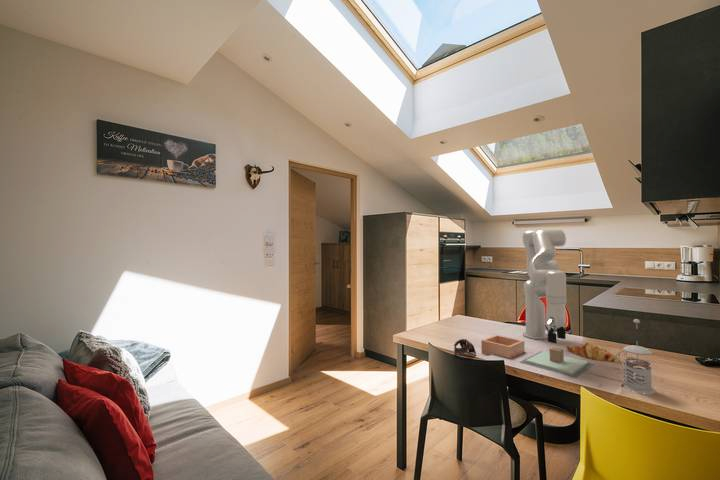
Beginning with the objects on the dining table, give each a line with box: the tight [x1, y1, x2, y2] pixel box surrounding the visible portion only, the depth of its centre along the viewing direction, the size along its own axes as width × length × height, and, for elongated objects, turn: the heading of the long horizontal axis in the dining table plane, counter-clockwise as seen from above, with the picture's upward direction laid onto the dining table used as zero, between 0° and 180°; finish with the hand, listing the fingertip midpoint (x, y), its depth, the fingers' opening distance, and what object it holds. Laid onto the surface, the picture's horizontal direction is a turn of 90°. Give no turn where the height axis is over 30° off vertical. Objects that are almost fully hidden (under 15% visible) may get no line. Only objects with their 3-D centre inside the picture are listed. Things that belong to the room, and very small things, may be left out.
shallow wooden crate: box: [481, 334, 525, 359], centre depth 163 cm, size 14×14×6 cm
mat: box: [518, 350, 596, 379], centre depth 146 cm, size 22×22×1 cm
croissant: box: [566, 342, 622, 364], centre depth 154 cm, size 21×10×8 cm, turn 38°
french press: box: [615, 318, 656, 395], centre depth 124 cm, size 10×12×25 cm
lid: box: [526, 346, 589, 375], centre depth 146 cm, size 18×18×6 cm
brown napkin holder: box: [453, 338, 477, 357], centre depth 162 cm, size 12×10×8 cm
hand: (556, 340), depth 146 cm, fingers open, 9 cm apart
